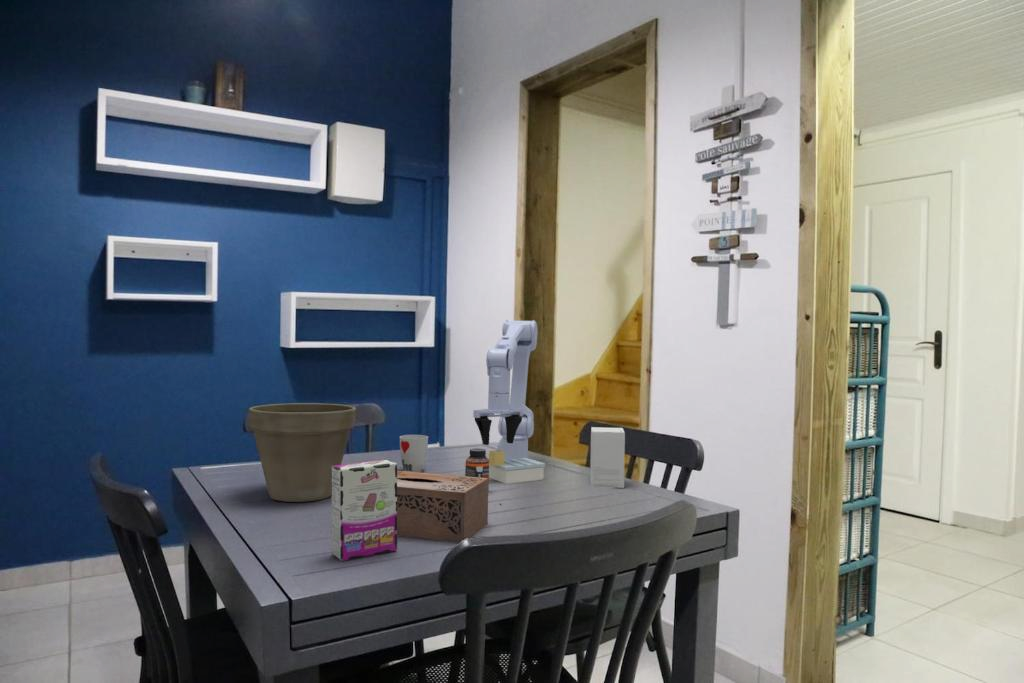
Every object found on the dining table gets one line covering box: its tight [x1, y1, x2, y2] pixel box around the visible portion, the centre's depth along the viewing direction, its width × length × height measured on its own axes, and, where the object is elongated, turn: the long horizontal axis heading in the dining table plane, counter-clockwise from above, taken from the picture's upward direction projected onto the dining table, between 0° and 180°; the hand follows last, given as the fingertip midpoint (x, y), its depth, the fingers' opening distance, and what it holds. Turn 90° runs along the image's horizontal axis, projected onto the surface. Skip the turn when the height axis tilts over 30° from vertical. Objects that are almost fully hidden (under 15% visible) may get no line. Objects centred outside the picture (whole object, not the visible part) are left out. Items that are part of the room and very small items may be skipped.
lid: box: [488, 449, 546, 471], centre depth 195 cm, size 10×14×4 cm
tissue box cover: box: [397, 470, 489, 543], centre depth 149 cm, size 26×14×10 cm, turn 73°
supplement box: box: [589, 426, 626, 489], centre depth 194 cm, size 9×9×15 cm
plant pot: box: [248, 402, 357, 503], centre depth 174 cm, size 25×25×22 cm
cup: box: [399, 434, 429, 473], centre depth 205 cm, size 8×8×10 cm
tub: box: [489, 465, 545, 485], centre depth 196 cm, size 9×12×4 cm
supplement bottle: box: [464, 447, 490, 492], centre depth 179 cm, size 6×6×11 cm
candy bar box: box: [331, 459, 398, 562], centre depth 131 cm, size 11×5×16 cm, turn 126°
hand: (497, 443), depth 192 cm, fingers open, 7 cm apart
